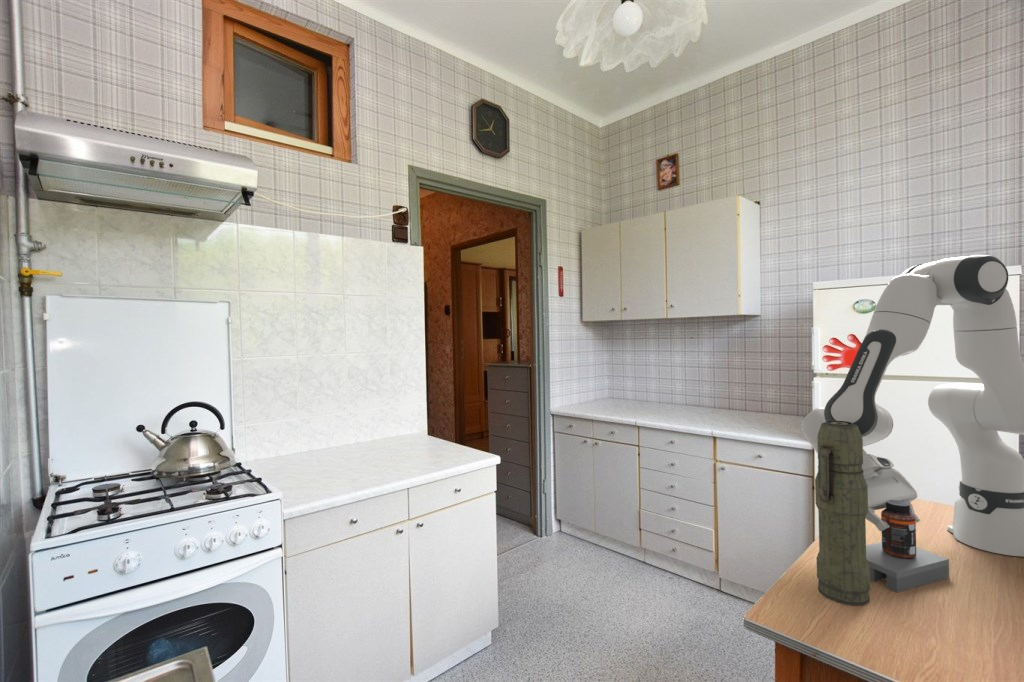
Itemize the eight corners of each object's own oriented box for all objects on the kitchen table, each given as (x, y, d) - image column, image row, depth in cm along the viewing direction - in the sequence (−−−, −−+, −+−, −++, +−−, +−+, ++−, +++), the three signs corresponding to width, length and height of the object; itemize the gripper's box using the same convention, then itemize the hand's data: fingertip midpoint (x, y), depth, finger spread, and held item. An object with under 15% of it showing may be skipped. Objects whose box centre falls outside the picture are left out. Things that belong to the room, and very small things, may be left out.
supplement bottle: (923, 560, 102) (922, 507, 102) (891, 559, 103) (890, 506, 103) (905, 548, 108) (904, 498, 108) (876, 547, 109) (875, 497, 109)
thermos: (881, 594, 97) (877, 421, 96) (854, 614, 91) (850, 429, 90) (833, 576, 104) (829, 416, 104) (805, 593, 98) (801, 423, 98)
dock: (894, 555, 113) (893, 538, 113) (949, 577, 102) (948, 559, 102) (844, 568, 108) (844, 550, 108) (897, 592, 97) (896, 572, 97)
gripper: (831, 468, 109) (877, 527, 99) (894, 458, 115) (943, 512, 106) (814, 482, 113) (856, 540, 104) (875, 472, 119) (920, 525, 110)
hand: (900, 526), depth 105 cm, fingers open, 8 cm apart
